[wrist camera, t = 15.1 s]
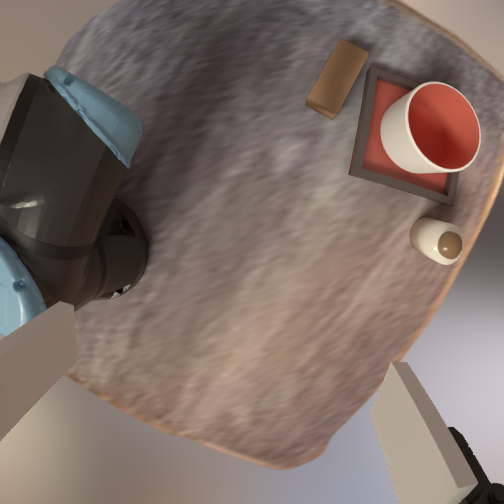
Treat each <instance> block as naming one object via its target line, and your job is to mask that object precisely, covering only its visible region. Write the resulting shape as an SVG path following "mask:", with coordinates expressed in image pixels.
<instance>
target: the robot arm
mask: <svg viewBox="0 0 504 504" xmlns="http://www.w3.org/2000/svg"><path fill="white" fill-rule="evenodd" d="M44 76H45V77H44V78H41V77H38V76H35V75H33V74H30V73H27V72H26V73H24V74H22V75H20V76H18V77H16V78H14V79H13V80H11V81H8V82H4V83H2V82H0V333H1V334H2V335H3V336H5V337H4V338H3V339H2V340H0V441H1V440H2V439H3V438H4V437H5V436H6V434H7V433H8V432H9V431H10V430H11V429H12V428H13V427H14V426H15V425H16V423H18V421H19V420H20V419H21V418H22V417H23V416H24V415H25V414H26V413H27V412H28V411H29V410H30V409H31V408H32V407H33V406H34V404H36V402H38V400H39V399H40V398H41V397H42V396H43V395H44V394H45V393H46V392H47V391H48V390H49V389H50V388H51V387H52V386H53V385H54V384H55V383H56V382H57V381H58V380H59V379H60V378H61V377H62V376H63V375H64V374H65V373H66V372H67V371H68V370H69V369H70V368H71V367H72V366H73V365H74V364H75V363H76V362H77V361H78V360H79V354H78V346H77V338H76V328H75V317H74V312H75V311H76V310H78V309H79V308H81V307H82V306H84V305H85V304H87V303H88V302H90V301H91V300H106V299H113V298H116V297H119V296H121V295H123V294H124V293H126V292H127V291H129V290H130V289H131V288H133V287H134V286H135V285H136V284H137V282H138V281H139V280H140V278H141V276H142V274H143V272H144V270H145V266H146V262H147V242H146V237H145V233H144V230H143V228H142V226H141V224H140V222H139V220H138V218H137V217H136V215H135V214H134V213H133V212H132V211H131V210H130V209H129V208H128V207H127V206H126V205H125V204H123V203H122V202H120V201H118V200H116V199H114V197H115V195H116V192H117V190H118V188H119V186H120V184H121V182H122V179H123V177H124V175H125V173H126V171H127V169H130V166H131V162H130V161H131V159H132V157H133V154H134V152H135V150H136V148H137V146H138V143H139V141H140V139H141V137H142V133H143V126H142V123H141V120H140V119H139V117H138V116H137V115H136V114H135V113H133V112H132V111H131V110H129V109H128V108H127V107H125V106H124V105H122V104H121V103H119V102H118V101H116V100H115V99H113V98H112V97H110V96H109V95H107V94H106V93H104V92H102V91H101V90H99V89H98V88H96V87H94V86H93V85H91V84H89V83H88V82H86V81H84V80H82V79H81V78H78V77H77V76H75V75H73V74H71V73H69V72H68V71H67V70H65V69H63V68H61V67H59V66H52V67H50V68H49V69H48V70H47V71H45V72H44ZM369 413H370V417H371V419H372V422H373V425H374V428H375V431H376V434H377V437H378V440H379V443H380V446H381V448H382V452H383V455H384V458H385V461H386V464H387V467H388V470H389V473H390V476H391V480H392V483H393V486H394V489H395V492H396V496H397V499H398V502H399V504H504V485H502V484H498V483H492V484H491V483H490V482H489V480H488V478H487V476H486V474H485V473H484V471H483V469H482V467H481V466H480V464H479V462H478V460H477V459H476V457H475V455H473V452H472V450H471V448H470V447H468V443H467V442H466V440H465V438H464V437H463V435H462V434H460V433H459V432H458V431H457V430H456V429H455V428H454V427H447V426H446V424H445V422H444V421H443V419H442V417H441V416H440V414H439V412H438V411H437V409H436V407H435V406H434V404H433V402H432V401H431V399H430V398H429V396H428V394H427V393H426V391H425V390H424V388H423V387H422V385H421V384H420V382H419V380H418V379H417V377H416V375H415V374H414V372H413V371H412V369H411V368H410V366H409V365H408V363H407V362H391V363H390V366H389V368H388V371H387V373H386V376H385V378H384V381H383V383H382V385H381V388H380V390H379V392H378V395H377V397H376V399H375V401H374V404H373V406H372V408H371V410H370V412H369Z"/></svg>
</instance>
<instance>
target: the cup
mask: <svg viewBox="0 0 504 504" xmlns="http://www.w3.org/2000/svg"><path fill="white" fill-rule="evenodd" d="M380 134H381V140H382V144H383V147H384V149H385V151H386V153H387V154H388V156H389V157H390V158H391V160H392V161H393V162H394V163H395V164H396V165H398V166H399V167H400V168H402V169H404V170H406V171H408V172H412V173H418V174H421V173H443V172H457V171H461V170H463V169H465V168H466V167H468V166H469V165H470V164H471V163H472V162H473V161H474V159H475V158H476V156H477V154H478V151H479V147H480V142H481V131H480V125H479V121H478V118H477V115H476V113H475V111H474V109H473V107H472V105H471V104H470V103H469V101H468V100H467V99H466V97H465V96H464V95H463V94H462V93H460V92H459V91H458V90H457V89H455V88H454V87H452V86H450V85H448V84H445V83H442V82H427V83H423V84H421V85H419V86H418V87H416V88H415V89H414V90H412V91H411V92H409V93H408V94H406V95H405V96H403V97H402V98H401V99H399V100H398V101H396V102H395V103H393V104H392V105H391V106H390V107H389V108H388V109H387V110H386V112H385V113H384V115H383V118H382V121H381V127H380Z"/></svg>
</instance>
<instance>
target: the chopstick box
mask: <svg viewBox="0 0 504 504" xmlns="http://www.w3.org/2000/svg"><path fill="white" fill-rule="evenodd" d="M368 55H369V53H368V52H366V51H365V50H363V49H361V48H359V47H357V46H355V45H354V44H352V43H350V42H348V41H346V40H344V39H342V38H341V39H340V41H339V43H338V44H337V46H336V48H335V50H334V51H333V53H332V55H331V57H330V58H329V60H328V62H327V64H326V65H325V67H324V69H323V71H322V73H321V74H320V76H319V78H318V80H317V81H316V83H315V85H314V87H313V89H312V90H311V92H310V94H309V96H308V98H307V101H306V104H305V106H307V107H309V108H311V109H313V110H315V111H317V112H319V113H321V114H323V115H324V116H326V117H328V118H330V119H332V120H333V119H334V117H335V116H336V115H337V114H338V112H339V110H340V108H341V106H342V104H343V102H344V100H345V99H346V97H347V95H348V93H349V91H350V89H351V87H352V85H353V83H354V81H355V80H356V78H357V76H358V74H359V72H360V70H361V68H362V66H363V64H364V62H365V61H366V59H367V57H368Z"/></svg>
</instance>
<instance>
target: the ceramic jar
mask: <svg viewBox="0 0 504 504" xmlns="http://www.w3.org/2000/svg"><path fill="white" fill-rule="evenodd" d="M410 242H411V245H412V246H413V248H414V249H415V250H416V251H418V252H420V253H422V254H424V255H426V256H427V257H429V258H431V259H433V260H435V261H437V262H439V263H440V264H443V265H449V264H452V263H454V262H455V261H456V260H457V259H458V258H459V257H460V255H461V253H462V251H463V247H464V237H463V234H462V232H461V230H460V229H459V228H458V227H457V226H456V225H454V224H450V223H446V222H443V221H439V220H435V219H431V218H427V217H423V218H420V219H418V220H417V221H416V222H415V223H414V224H413V225H412V227H411V230H410Z"/></svg>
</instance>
